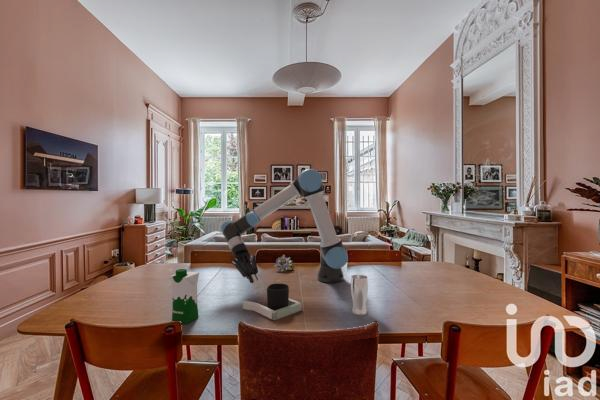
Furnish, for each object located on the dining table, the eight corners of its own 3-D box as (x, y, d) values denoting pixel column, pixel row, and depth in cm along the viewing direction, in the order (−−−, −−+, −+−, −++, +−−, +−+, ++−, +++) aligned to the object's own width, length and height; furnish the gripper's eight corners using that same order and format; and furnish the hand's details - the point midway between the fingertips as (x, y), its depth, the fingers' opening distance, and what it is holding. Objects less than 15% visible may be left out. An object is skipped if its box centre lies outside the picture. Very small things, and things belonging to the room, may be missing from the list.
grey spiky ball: (282, 280, 187) (271, 265, 185) (283, 272, 198) (272, 258, 196) (296, 270, 186) (285, 256, 184) (296, 263, 197) (286, 249, 195)
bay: (241, 308, 126) (241, 301, 126) (277, 297, 140) (277, 291, 140) (268, 322, 112) (268, 314, 112) (305, 308, 126) (305, 301, 126)
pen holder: (293, 310, 124) (293, 286, 124) (275, 316, 118) (275, 291, 118) (279, 304, 131) (279, 282, 131) (262, 309, 125) (262, 286, 125)
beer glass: (349, 309, 124) (348, 274, 124) (365, 309, 125) (364, 274, 125) (353, 316, 117) (353, 279, 117) (370, 315, 118) (370, 278, 118)
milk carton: (168, 322, 112) (167, 270, 112) (184, 313, 121) (184, 265, 121) (186, 325, 110) (186, 272, 109) (202, 316, 118) (201, 267, 118)
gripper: (246, 250, 153) (265, 289, 141) (223, 253, 144) (242, 295, 132) (251, 241, 149) (272, 280, 137) (229, 244, 140) (248, 286, 128)
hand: (257, 287), depth 135 cm, fingers closed
